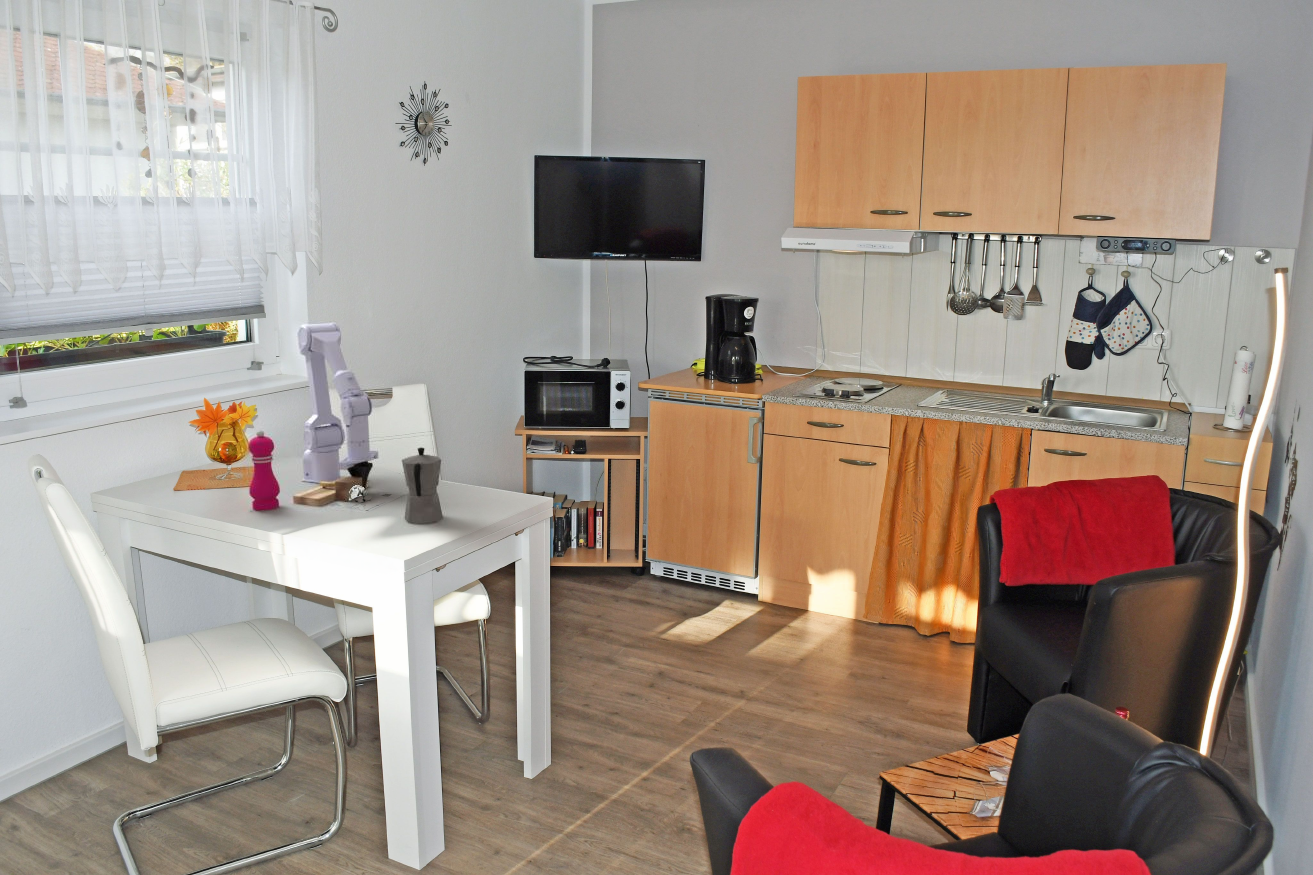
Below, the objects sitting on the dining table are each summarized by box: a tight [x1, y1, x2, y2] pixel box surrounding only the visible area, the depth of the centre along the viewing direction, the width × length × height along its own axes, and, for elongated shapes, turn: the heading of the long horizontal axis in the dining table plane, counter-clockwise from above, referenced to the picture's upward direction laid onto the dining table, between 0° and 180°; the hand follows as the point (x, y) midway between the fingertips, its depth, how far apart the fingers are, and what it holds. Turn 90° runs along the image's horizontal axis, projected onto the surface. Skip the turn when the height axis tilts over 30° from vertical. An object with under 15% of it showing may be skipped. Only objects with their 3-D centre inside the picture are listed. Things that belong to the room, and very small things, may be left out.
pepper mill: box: [248, 429, 281, 512], centre depth 246 cm, size 7×7×20 cm
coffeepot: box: [401, 447, 444, 525], centre depth 237 cm, size 15×9×18 cm, turn 6°
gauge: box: [318, 475, 362, 502], centre depth 258 cm, size 11×6×5 cm, turn 71°
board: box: [292, 477, 370, 507], centre depth 261 cm, size 8×21×2 cm, turn 161°
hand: (360, 490), depth 262 cm, fingers closed
